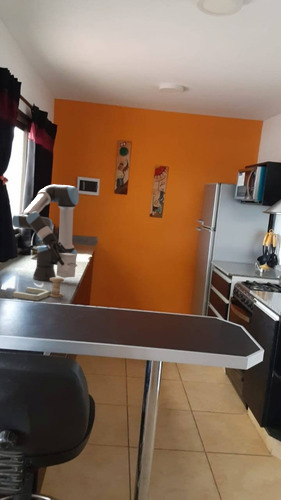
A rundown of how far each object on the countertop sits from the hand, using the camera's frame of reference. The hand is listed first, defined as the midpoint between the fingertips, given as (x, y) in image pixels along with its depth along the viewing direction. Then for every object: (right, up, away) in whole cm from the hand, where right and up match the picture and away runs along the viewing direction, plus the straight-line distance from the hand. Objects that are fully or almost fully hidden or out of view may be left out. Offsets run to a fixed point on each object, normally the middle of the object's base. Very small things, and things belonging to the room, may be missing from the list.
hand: (71, 268), depth 224 cm
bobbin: (-12, -16, +14) cm, 24 cm away
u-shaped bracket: (-24, -16, +9) cm, 30 cm away
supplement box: (-4, -5, +1) cm, 6 cm away
